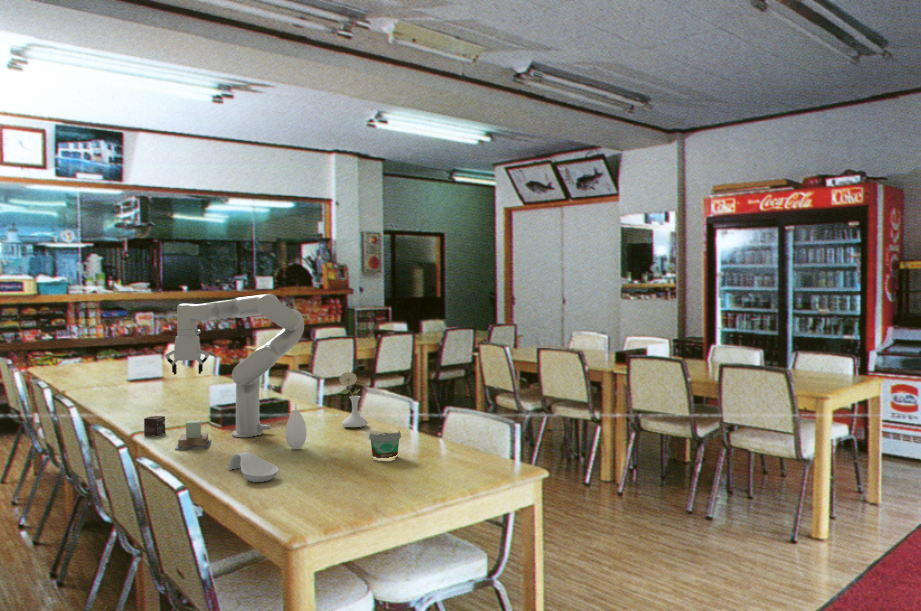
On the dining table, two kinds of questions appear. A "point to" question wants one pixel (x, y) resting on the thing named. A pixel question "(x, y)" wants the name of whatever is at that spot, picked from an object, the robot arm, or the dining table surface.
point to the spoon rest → (253, 467)
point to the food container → (385, 444)
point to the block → (193, 429)
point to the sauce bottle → (295, 430)
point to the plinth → (193, 442)
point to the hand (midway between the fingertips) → (187, 373)
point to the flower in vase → (354, 418)
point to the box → (154, 425)
